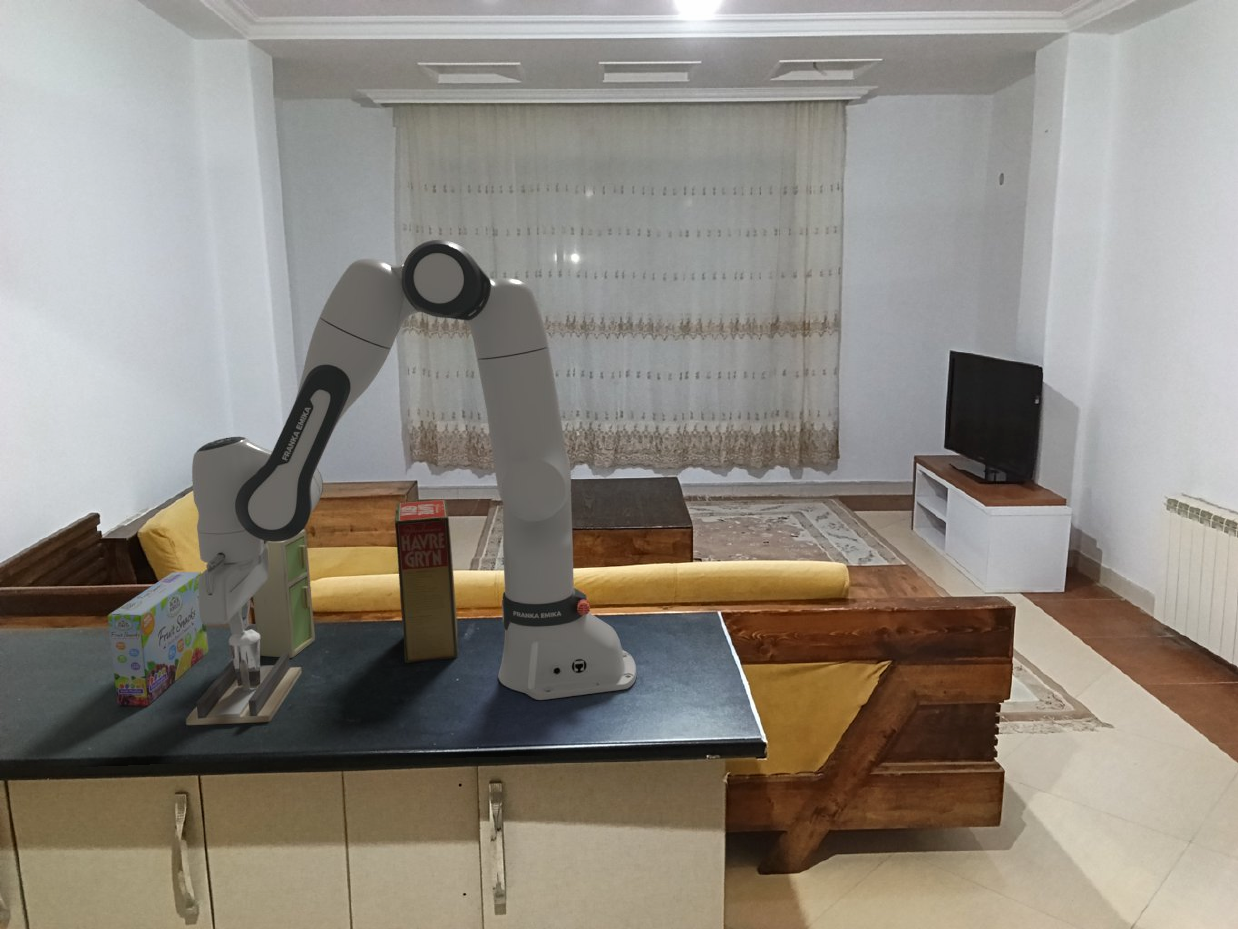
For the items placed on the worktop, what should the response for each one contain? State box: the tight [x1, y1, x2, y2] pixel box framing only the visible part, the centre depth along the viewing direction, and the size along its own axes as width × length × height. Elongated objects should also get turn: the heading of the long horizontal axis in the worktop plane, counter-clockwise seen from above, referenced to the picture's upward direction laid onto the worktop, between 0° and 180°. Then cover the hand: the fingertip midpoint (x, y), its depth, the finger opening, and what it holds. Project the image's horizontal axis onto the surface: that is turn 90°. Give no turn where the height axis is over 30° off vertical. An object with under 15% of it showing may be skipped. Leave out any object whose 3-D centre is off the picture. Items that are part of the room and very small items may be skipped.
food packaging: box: [394, 499, 459, 663], centre depth 160 cm, size 13×9×25 cm
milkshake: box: [228, 623, 261, 691], centre depth 143 cm, size 4×5×10 cm
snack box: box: [107, 571, 209, 707], centre depth 150 cm, size 21×6×15 cm, turn 0°
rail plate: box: [185, 653, 302, 726], centre depth 143 cm, size 12×17×4 cm
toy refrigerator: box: [252, 529, 316, 659], centre depth 160 cm, size 8×7×21 cm
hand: (240, 630), depth 142 cm, fingers closed
